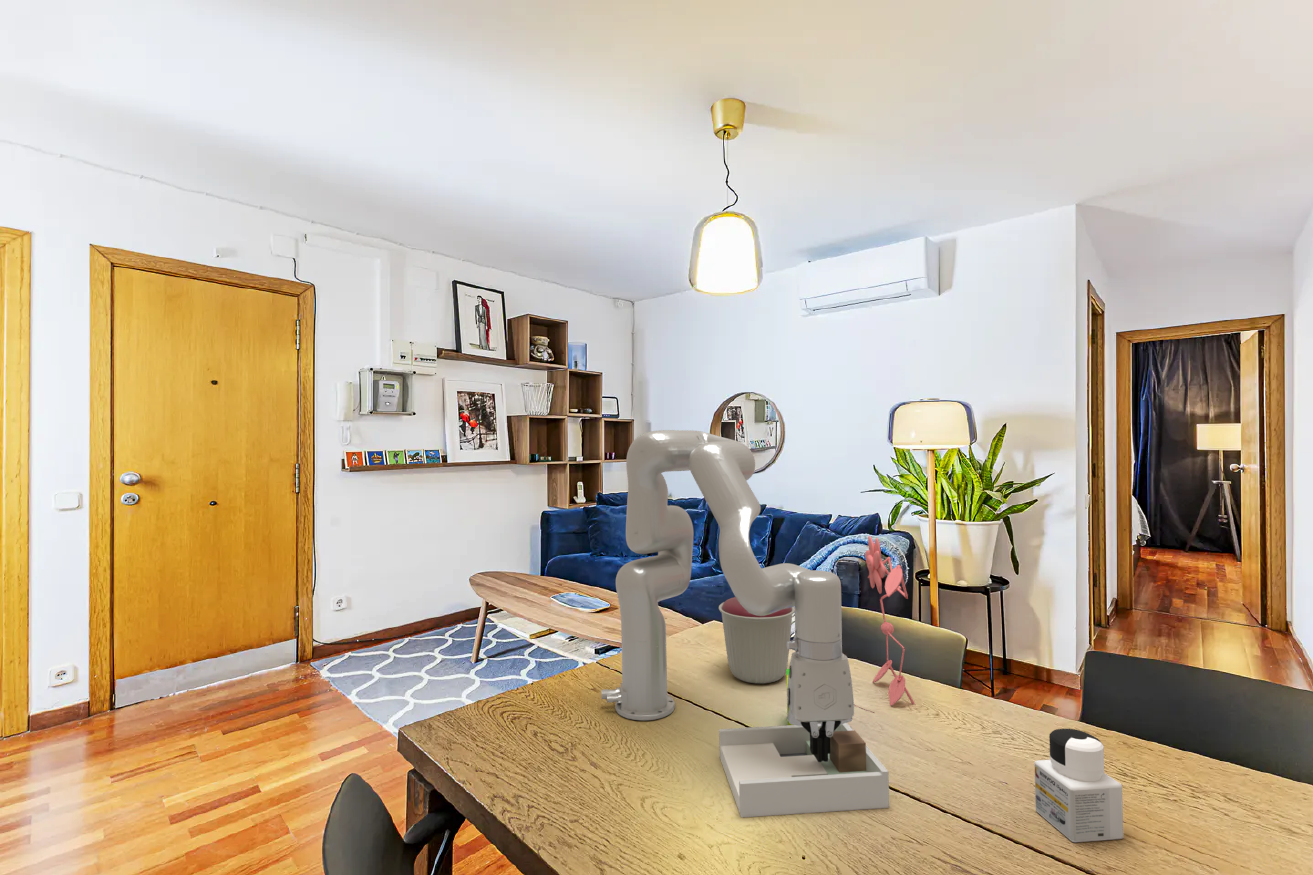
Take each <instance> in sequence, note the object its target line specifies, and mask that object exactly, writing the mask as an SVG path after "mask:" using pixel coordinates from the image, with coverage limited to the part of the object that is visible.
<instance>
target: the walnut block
mask: <svg viewBox="0 0 1313 875" xmlns="http://www.w3.org/2000/svg"><path fill="white" fill-rule="evenodd" d="M866 746H867V744H866V741H864V739H863V738H862V736H860V735H859V733H858V732H857V731H856V730H854V729H853V731H835V732H833V736H832V737H830V751H831V752H830V754H829V758H830V760H831V761H832V763H833V764H834V766H835V767H836V768H837V770H838V771H839V772H856V771H866Z"/></svg>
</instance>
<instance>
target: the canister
mask: <svg viewBox="0 0 1313 875" xmlns="http://www.w3.org/2000/svg"><path fill="white" fill-rule="evenodd" d="M718 610H719V612H720V613H721V618H722V619H721V620H722V627H723V634H724V636H723V637H724V643H725V650H726V655H727V656H726V657H727V663H728V668H729V670H730V672H731V674H732V675H733V676H734V677H735V678H736V679H738V680H739V681H743V682H745V683H750V684H758V685H759V684H771V683H774V682H777V681H780V680H781V679H782V678H783V677H784V676H785V674H786V673H787V669H788V664H789V663H788V662H789V657H790V656H789V654H790V649H788V648H787V641H791V633H792V625H793V624H792V623H793V615H794V614H795V607H791V608H786V609H782V610H779V611H777V612H774V613H771V614H769V615H765V616H757V615H754V614H751V613H750V612H748V611H747V610H746V609H744V607H743V606H742V605H741V604H740V603H739V601H738V600H737V598H736V597H735V596H734V597H731V598H729V599H726V600H725V601H723V602H721V603H720V604H719V605H718Z"/></svg>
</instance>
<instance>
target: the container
mask: <svg viewBox="0 0 1313 875" xmlns="http://www.w3.org/2000/svg"><path fill="white" fill-rule="evenodd" d="M1104 748H1105V746H1104V744H1103V743H1102V741H1101V740H1100V739H1098V738H1097V737H1096V736H1094V735H1092V734H1090V733H1088V732H1086V731H1082V730H1079V729H1074V728H1057V729H1054V730H1052V731H1051V732H1050V733H1049V759H1040V760H1035V761H1034V794H1035V795H1034V799H1035V800H1034V802H1035V804H1034V805H1035V812H1037V813H1038V814H1039V815H1040V816H1041V817H1042V818H1044V819H1045V821H1047V822H1048V823H1049V824H1051V825H1052V826H1053V827H1055V829H1057V830H1058V831H1059V833H1061V834H1062V835H1063V836H1065V837H1066V838H1067V839H1068V840H1069V841H1071V842H1072V843H1084V842H1085V843H1086V842H1098V841H1099V842H1100V841H1111V840H1121V839H1124V819H1123V818H1124V811H1123V810H1124V809H1123V806H1124V805H1123V803H1124V802H1123V785H1122V783H1121V782H1119V781H1118V780H1116V779H1114V778H1113V777H1111V776H1109V775H1108V774H1107V773H1105V755H1104V754H1105V752H1104V751H1105V750H1104Z"/></svg>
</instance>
